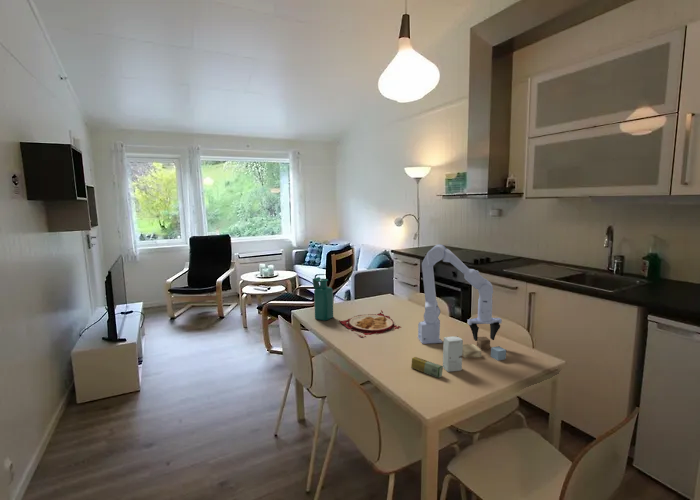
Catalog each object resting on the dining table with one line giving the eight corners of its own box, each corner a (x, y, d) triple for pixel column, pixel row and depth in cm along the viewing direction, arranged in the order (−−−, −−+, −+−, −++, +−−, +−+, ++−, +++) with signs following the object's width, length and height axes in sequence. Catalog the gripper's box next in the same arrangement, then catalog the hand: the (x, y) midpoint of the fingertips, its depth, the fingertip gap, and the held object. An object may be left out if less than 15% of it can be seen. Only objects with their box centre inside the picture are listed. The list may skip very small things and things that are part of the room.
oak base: (464, 358, 146) (464, 351, 146) (457, 351, 153) (458, 344, 153) (481, 357, 147) (481, 350, 147) (473, 350, 154) (473, 344, 153)
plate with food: (338, 323, 190) (338, 317, 190) (381, 315, 202) (380, 308, 202) (361, 340, 169) (360, 333, 168) (407, 329, 180) (407, 322, 180)
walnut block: (480, 349, 155) (481, 340, 154) (476, 345, 159) (477, 337, 158) (489, 348, 155) (490, 340, 154) (485, 345, 159) (485, 336, 158)
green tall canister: (334, 317, 199) (334, 278, 196) (325, 321, 192) (324, 281, 189) (320, 314, 204) (319, 276, 201) (311, 318, 197) (310, 279, 194)
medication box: (442, 376, 132) (443, 366, 131) (439, 378, 130) (440, 367, 129) (414, 366, 140) (415, 356, 139) (410, 367, 138) (411, 357, 137)
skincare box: (447, 372, 134) (448, 341, 133) (442, 367, 139) (442, 337, 137) (462, 370, 136) (463, 339, 134) (456, 365, 140) (457, 335, 138)
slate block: (497, 360, 143) (498, 351, 143) (490, 356, 147) (491, 347, 147) (505, 359, 145) (506, 349, 144) (498, 355, 149) (498, 346, 148)
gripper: (472, 313, 150) (471, 344, 152) (505, 311, 151) (504, 342, 153) (465, 308, 157) (464, 337, 159) (497, 306, 158) (496, 336, 160)
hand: (483, 339), depth 156 cm, fingers open, 7 cm apart
